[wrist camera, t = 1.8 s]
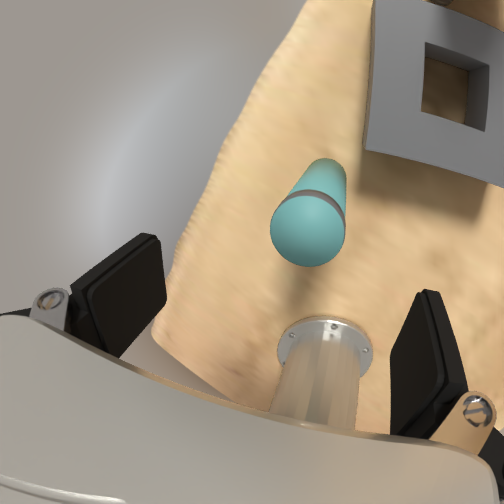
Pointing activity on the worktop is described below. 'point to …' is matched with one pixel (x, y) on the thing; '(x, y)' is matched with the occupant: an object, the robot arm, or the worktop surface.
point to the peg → (312, 216)
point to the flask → (442, 2)
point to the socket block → (411, 87)
